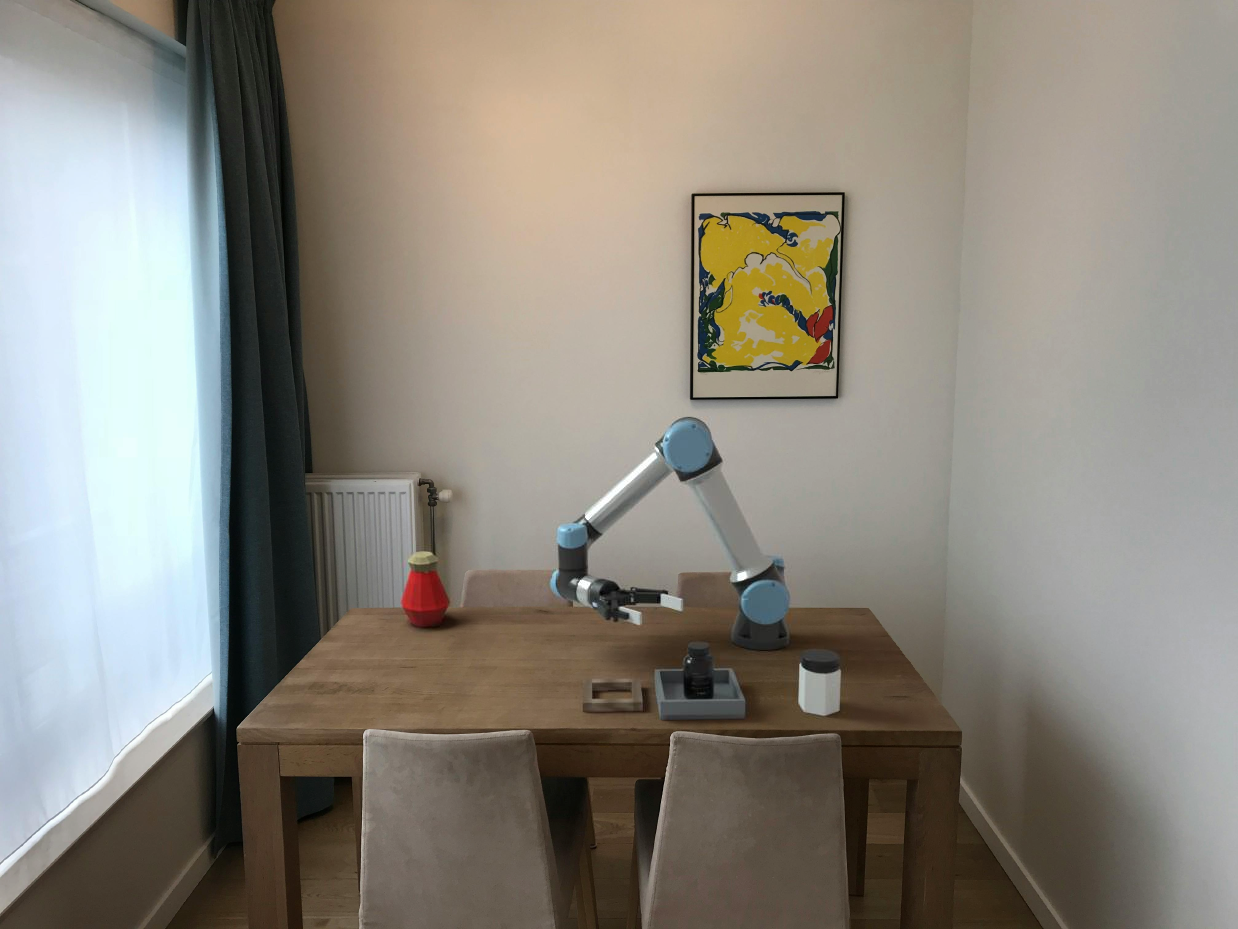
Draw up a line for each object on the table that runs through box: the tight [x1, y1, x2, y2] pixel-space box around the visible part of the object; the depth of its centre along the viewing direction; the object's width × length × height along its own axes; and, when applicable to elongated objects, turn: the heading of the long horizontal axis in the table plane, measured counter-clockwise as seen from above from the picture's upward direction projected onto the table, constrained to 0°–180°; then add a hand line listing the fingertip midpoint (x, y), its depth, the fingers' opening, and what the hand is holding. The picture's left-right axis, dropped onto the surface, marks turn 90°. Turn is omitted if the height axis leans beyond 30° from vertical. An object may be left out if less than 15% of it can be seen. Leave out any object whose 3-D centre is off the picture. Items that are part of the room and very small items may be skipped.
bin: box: [654, 667, 746, 721], centre depth 192 cm, size 18×18×4 cm
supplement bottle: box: [682, 641, 715, 700], centre depth 191 cm, size 7×7×12 cm
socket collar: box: [582, 678, 644, 713], centre depth 193 cm, size 13×13×2 cm
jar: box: [797, 648, 842, 717], centre depth 188 cm, size 9×8×12 cm
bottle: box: [400, 551, 451, 629], centre depth 244 cm, size 16×14×20 cm
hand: (662, 612), depth 197 cm, fingers open, 13 cm apart
